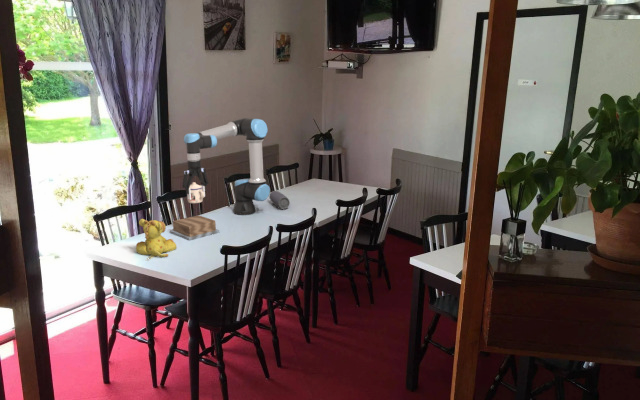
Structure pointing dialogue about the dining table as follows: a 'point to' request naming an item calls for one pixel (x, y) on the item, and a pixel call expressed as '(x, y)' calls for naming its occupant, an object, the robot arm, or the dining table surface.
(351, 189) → the dining table surface
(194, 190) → the teacup with lid
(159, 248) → the giraffe plush
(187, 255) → the dining table surface
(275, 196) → the bluetooth speaker
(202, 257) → the dining table surface
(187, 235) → the plinth
